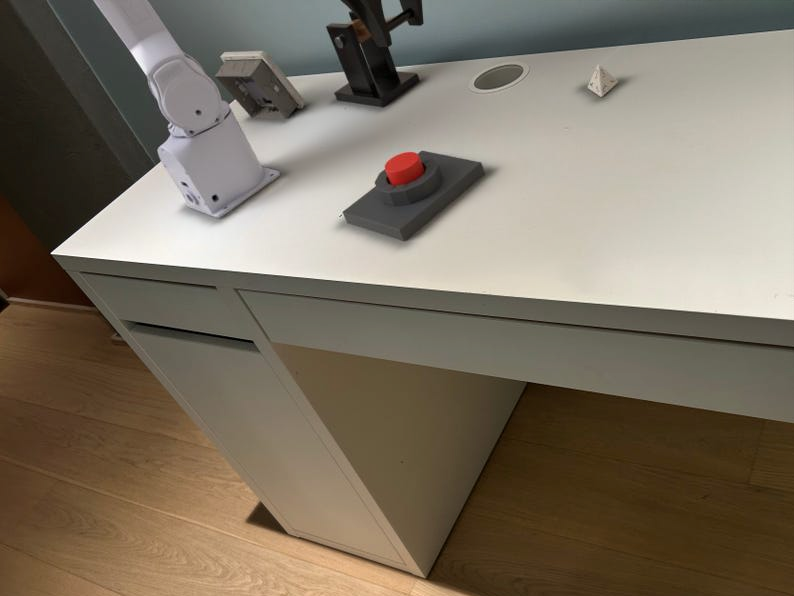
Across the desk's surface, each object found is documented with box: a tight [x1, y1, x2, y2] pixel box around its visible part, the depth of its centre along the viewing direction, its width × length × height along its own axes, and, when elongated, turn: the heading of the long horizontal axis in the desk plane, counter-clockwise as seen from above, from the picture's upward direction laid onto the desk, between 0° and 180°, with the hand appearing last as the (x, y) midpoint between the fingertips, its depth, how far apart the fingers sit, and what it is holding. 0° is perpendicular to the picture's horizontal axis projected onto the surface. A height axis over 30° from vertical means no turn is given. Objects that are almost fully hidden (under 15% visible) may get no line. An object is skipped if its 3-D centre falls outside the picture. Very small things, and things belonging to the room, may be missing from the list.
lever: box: [346, 8, 414, 45], centre depth 89 cm, size 11×5×2 cm, turn 49°
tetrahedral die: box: [587, 64, 619, 98], centre depth 80 cm, size 4×3×3 cm
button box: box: [341, 150, 485, 242], centre depth 73 cm, size 12×9×3 cm
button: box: [384, 151, 424, 186], centre depth 72 cm, size 4×4×2 cm
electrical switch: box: [215, 50, 306, 120], centre depth 99 cm, size 9×5×9 cm, turn 57°
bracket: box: [325, 10, 421, 108], centre depth 94 cm, size 10×7×10 cm
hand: (400, 35), depth 87 cm, fingers closed on lever, 5 cm apart
